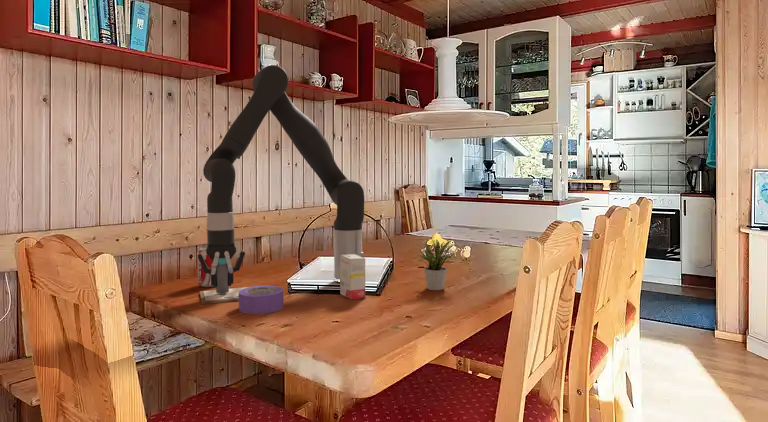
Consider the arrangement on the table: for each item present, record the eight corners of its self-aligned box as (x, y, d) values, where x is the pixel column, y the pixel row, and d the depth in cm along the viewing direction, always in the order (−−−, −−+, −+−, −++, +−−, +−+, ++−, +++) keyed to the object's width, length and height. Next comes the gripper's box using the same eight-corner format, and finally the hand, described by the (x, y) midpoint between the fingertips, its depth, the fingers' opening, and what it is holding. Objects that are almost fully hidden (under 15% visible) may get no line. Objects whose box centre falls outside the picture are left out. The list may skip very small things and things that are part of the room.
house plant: (468, 285, 169) (469, 234, 167) (455, 295, 156) (455, 240, 155) (426, 281, 175) (426, 232, 173) (410, 290, 162) (410, 237, 161)
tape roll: (261, 317, 136) (260, 297, 135) (229, 310, 142) (228, 292, 141) (292, 306, 146) (292, 288, 145) (261, 301, 152) (261, 283, 151)
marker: (228, 289, 159) (227, 255, 158) (229, 292, 155) (229, 257, 154) (215, 290, 157) (214, 256, 157) (216, 293, 154) (215, 258, 153)
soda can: (214, 288, 167) (213, 250, 166) (193, 287, 168) (192, 249, 167) (225, 283, 174) (224, 247, 173) (205, 282, 175) (204, 246, 174)
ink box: (366, 298, 153) (366, 257, 152) (350, 300, 151) (350, 259, 150) (355, 292, 161) (354, 253, 160) (339, 293, 159) (339, 254, 158)
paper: (263, 287, 167) (263, 284, 167) (271, 297, 154) (271, 294, 154) (199, 293, 160) (199, 290, 160) (202, 304, 148) (201, 301, 147)
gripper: (243, 225, 161) (245, 281, 162) (194, 227, 156) (196, 285, 157) (247, 228, 154) (248, 286, 155) (195, 230, 149) (197, 291, 150)
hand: (222, 286), depth 156 cm, fingers closed on marker, 3 cm apart
